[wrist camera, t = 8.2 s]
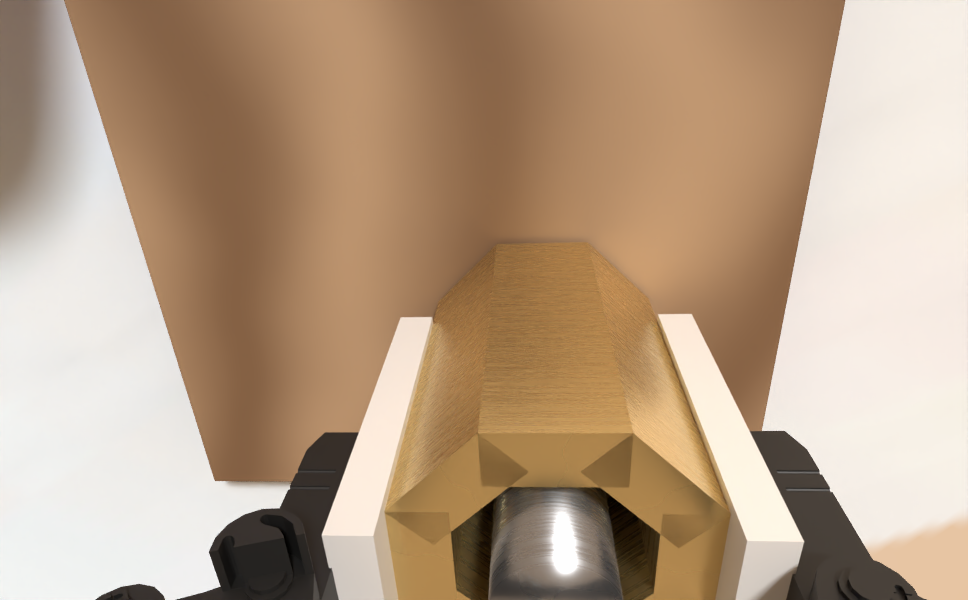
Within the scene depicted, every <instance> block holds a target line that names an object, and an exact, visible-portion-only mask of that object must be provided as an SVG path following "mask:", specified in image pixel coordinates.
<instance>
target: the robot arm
mask: <svg viewBox="0 0 968 600" xmlns="http://www.w3.org/2000/svg"><path fill="white" fill-rule="evenodd" d="M657 322H658V325H659V327H660V330H661V333H662V335H663V338H664V341H665V343H666V346H667V348H668V351H669V354H670V356H671V359H672V362H673V364H674V367H675V369H676V372H677V375H678V377H679V380H680V382H681V385H682V388H683V390H684V393H685V396H686V398H687V401H688V403H689V406H690V409H691V411H692V414H693V416H694V419H695V422H696V424H697V427H698V430H699V432H700V435H701V437H702V440H703V443H704V445H705V448H706V450H707V453H708V456H709V458H710V461H711V464H712V466H713V469H714V471H715V474H716V477H717V479H718V482H719V484H720V487H721V490H722V492H723V495H724V498H725V500H726V503H727V505H728V508H729V511H730V513H731V516H730V522H729V527H728V533H727V538H726V544H725V549H724V555H723V560H722V565H721V571H720V576H719V582H718V587H717V593H716V598H715V600H926V599H923V598H921V597H919V596H918V595H917V593H916V591H915V589H914V588H913V587H912V586H911V585H910V584H909V583H907V581H906V580H905V579H904V578H902V577H901V576H900V575H899V574H898V573H896V572H895V571H893V570H891V569H890V568H888V567H886V566H885V565H883V564H881V563H880V562H877V561H874V560H873V559H872V558H871V556H870V554H869V553H868V551H867V549H866V548H865V546H864V544H863V543H862V541H861V539H860V538H859V536H858V534H857V533H856V531H855V529H854V528H853V526H852V524H851V523H850V521H849V519H848V518H847V516H846V514H845V513H844V511H843V509H842V508H841V506H840V504H839V502H838V501H837V499H836V497H835V496H834V494H833V492H830V487H829V486H828V484H827V482H826V481H825V479H824V477H823V476H822V475H820V473H819V469H818V467H817V466H816V464H815V462H814V461H813V459H812V457H811V456H810V454H809V452H808V451H807V449H806V448H805V447H803V446H802V445H801V444H800V443H798V442H797V441H796V440H795V439H794V438H792V437H791V436H790V435H789V434H788V433H786V432H785V431H749V429H748V427H747V425H746V423H745V421H744V419H743V417H742V415H741V413H740V411H739V409H738V407H737V405H736V403H735V401H734V399H733V397H732V395H731V393H730V391H729V389H728V387H727V385H726V383H725V381H724V378H723V376H722V374H721V372H720V370H719V368H718V366H717V364H716V362H715V360H714V358H713V356H712V354H711V352H710V350H709V348H708V346H707V344H706V342H705V340H704V338H703V336H702V334H701V332H700V330H699V328H698V326H697V324H696V322H695V320H694V318H693V316H692V314H658V319H657ZM432 326H433V318H432V317H401V318H400V321H399V324H398V326H397V329H396V332H395V335H394V337H393V340H392V343H391V346H390V348H389V351H388V354H387V357H386V359H385V362H384V365H383V368H382V370H381V373H380V376H379V379H378V381H377V384H376V387H375V390H374V392H373V395H372V398H371V401H370V403H369V406H368V409H367V412H366V414H365V417H364V420H363V423H362V425H361V428H360V431H359V432H325V433H324V434H323V435H322V436H321V437H320V438H318V439H317V440H316V441H315V442H314V443H313V444H312V445H311V446H310V447H309V448H308V449H307V450H306V453H305V455H304V457H303V459H302V461H301V463H300V466H299V468H298V473H296V474H295V476H294V479H293V481H292V483H291V485H290V490H288V492H287V494H286V496H285V498H284V500H283V502H282V505H281V507H280V509H279V508H278V509H261V510H258V511H255V512H251V513H248V514H245V515H243V516H241V517H240V518H238V519H236V520H235V521H233V522H232V523H230V524H228V525H227V526H226V527H225V528H224V529H223V530H222V531H221V532H220V533H219V534H218V536H217V537H216V538H215V540H214V542H213V544H212V546H211V548H210V551H209V554H210V557H211V559H212V562H213V565H214V568H215V571H216V574H217V577H218V580H219V583H220V586H221V587H218V588H215V589H213V590H210V591H207V592H204V593H200V594H196V595H192V596H188V597H185V598H181V599H177V600H398V594H397V588H396V582H395V575H394V569H393V563H392V556H391V550H390V544H389V538H388V531H387V525H386V519H385V513H384V511H385V507H386V503H387V500H388V496H389V492H390V488H391V484H392V480H393V477H394V473H395V469H396V465H397V461H398V457H399V453H400V450H401V446H402V442H403V438H404V434H405V430H406V426H407V423H408V419H409V415H410V411H411V407H412V403H413V400H414V396H415V392H416V388H417V384H418V380H419V376H420V373H421V369H422V365H423V361H424V357H425V353H426V350H427V346H428V342H429V338H430V334H431V330H432ZM96 600H165V598H164V596H163V594H161V593H160V592H159V591H158V590H157V589H156V588H155V587H152V586H147V585H142V584H136V585H130V586H124V587H120V588H117V589H115V590H113V591H111V592H108V593H106V594H104V595H101V596H100V597H99V598H97V599H96Z"/></svg>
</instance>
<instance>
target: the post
mask: <svg viewBox="0 0 968 600" xmlns="http://www.w3.org/2000/svg"><path fill="white" fill-rule="evenodd" d="M488 600H623V595H622V588H621V582H620V576H619V570H618V563H617V557H616V551H615V544H614V538H613V532H612V526H611V519H610V513H609V507H608V501H607V494H606V492H605V491H604V490H603V489H602V488H600V487H509V488H507V489H506V490H505V491H503V492H502V493H501V494H500V495H498V496H497V497H496V498H494V508H493V526H492V543H491V561H490V578H489V596H488Z"/></svg>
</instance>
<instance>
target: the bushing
mask: <svg viewBox="0 0 968 600" xmlns="http://www.w3.org/2000/svg"><path fill="white" fill-rule="evenodd" d="M509 487H600V488H602V489H603V490H604V491H605V492H606V494H607V501H608V507H609V513H610V519H611V526H612V532H613V538H614V544H615V551H616V557H617V563H618V570H619V576H620V582H621V588H622V595H623V600H715V598H716V593H717V587H718V582H719V576H720V571H721V565H722V560H723V555H724V549H725V544H726V538H727V533H728V527H729V522H730V516H731V513H730V511H729V508H728V505H727V503H726V500H725V498H724V495H723V492H722V490H721V487H720V484H719V482H718V479H717V477H716V474H715V471H714V469H713V466H712V464H711V461H710V458H709V456H708V453H707V450H706V448H705V445H704V443H703V440H702V437H701V435H700V432H699V430H698V427H697V424H696V422H695V419H694V416H693V414H692V411H691V409H690V406H689V403H688V401H687V398H686V396H685V393H684V390H683V388H682V385H681V382H680V380H679V377H678V375H677V372H676V369H675V367H674V364H673V362H672V359H671V356H670V354H669V351H668V348H667V346H666V343H665V341H664V338H663V335H662V333H661V330H660V327H659V325H658V322H657V319H656V317H655V314H654V311H653V309H652V306H651V304H650V301H649V298H647V297H646V296H645V295H644V294H643V293H642V292H641V291H640V290H639V289H638V288H637V287H636V286H635V285H633V284H632V283H631V282H630V281H629V280H628V279H627V278H626V277H625V276H624V275H623V274H622V273H620V272H619V271H618V270H617V269H616V268H615V267H614V266H613V265H612V264H611V263H610V262H609V261H608V260H606V259H605V258H604V257H603V256H602V255H601V254H600V253H599V252H598V251H597V250H596V249H595V248H593V247H592V246H591V245H590V244H589V243H588V242H570V243H525V244H496V245H495V246H494V247H493V248H492V249H491V250H490V251H489V252H488V253H487V254H486V255H485V256H484V257H483V258H482V259H481V260H480V261H479V262H478V263H477V264H476V265H475V266H474V267H473V268H472V269H471V270H470V271H469V272H468V273H467V274H466V275H465V276H464V277H463V278H462V279H461V280H460V281H459V282H458V283H457V284H456V285H455V286H454V287H453V288H452V289H451V290H450V291H449V292H448V293H447V294H446V295H445V296H444V297H443V298H442V299H441V300H440V301H439V302H438V306H437V309H436V313H435V317H434V321H433V326H432V330H431V334H430V338H429V342H428V346H427V350H426V353H425V357H424V361H423V365H422V369H421V373H420V376H419V380H418V384H417V388H416V392H415V396H414V400H413V403H412V407H411V411H410V415H409V419H408V423H407V426H406V430H405V434H404V438H403V442H402V446H401V450H400V453H399V457H398V461H397V465H396V469H395V473H394V477H393V480H392V484H391V488H390V492H389V496H388V500H387V503H386V507H385V511H384V513H385V519H386V525H387V531H388V538H389V544H390V550H391V556H392V563H393V569H394V575H395V582H396V588H397V594H398V600H488V596H489V578H490V561H491V543H492V526H493V508H494V498H496V497H497V496H498V495H500V494H501V493H502V492H503V491H505V490H506V489H507V488H509Z"/></svg>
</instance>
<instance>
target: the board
mask: <svg viewBox="0 0 968 600" xmlns="http://www.w3.org/2000/svg"><path fill="white" fill-rule="evenodd" d="M64 1H65V4H66V8H67V11H68V14H69V17H70V20H71V24H72V27H73V30H74V33H75V36H76V40H77V43H78V46H79V49H80V52H81V56H82V59H83V62H84V65H85V68H86V71H87V75H88V78H89V81H90V84H91V87H92V91H93V94H94V97H95V100H96V103H97V107H98V110H99V113H100V116H101V119H102V122H103V126H104V129H105V132H106V135H107V138H108V142H109V145H110V148H111V151H112V154H113V158H114V161H115V164H116V167H117V170H118V173H119V177H120V180H121V183H122V186H123V189H124V193H125V196H126V199H127V202H128V205H129V209H130V212H131V215H132V218H133V221H134V225H135V228H136V231H137V234H138V237H139V240H140V244H141V247H142V250H143V253H144V256H145V260H146V263H147V266H148V269H149V272H150V276H151V279H152V282H153V285H154V288H155V291H156V295H157V298H158V301H159V304H160V307H161V311H162V314H163V317H164V320H165V323H166V327H167V330H168V333H169V336H170V339H171V342H172V346H173V349H174V352H175V355H176V358H177V362H178V365H179V368H180V371H181V374H182V378H183V381H184V384H185V387H186V390H187V394H188V397H189V400H190V403H191V406H192V409H193V413H194V416H195V419H196V422H197V425H198V429H199V432H200V435H201V438H202V441H203V445H204V448H205V451H206V454H207V457H208V460H209V464H210V467H211V470H212V473H213V476H214V480H215V481H293V479H294V476H295V474H296V473H298V468H299V466H300V463H301V461H302V459H303V457H304V455H305V453H306V450H307V449H308V448H309V447H310V446H311V445H312V444H313V443H314V442H315V441H316V440H317V439H318V438H320V437H321V436H322V435H323V434H324V433H325V432H359V431H360V428H361V425H362V423H363V420H364V417H365V414H366V412H367V409H368V406H369V403H370V401H371V398H372V395H373V392H374V390H375V387H376V384H377V381H378V379H379V376H380V373H381V370H382V368H383V365H384V362H385V359H386V357H387V354H388V351H389V348H390V346H391V343H392V340H393V337H394V335H395V332H396V329H397V326H398V324H399V321H400V318H401V317H432V318H433V321H434V317H435V313H436V309H437V306H438V302H439V301H440V300H441V299H442V298H443V297H444V296H445V295H446V294H447V293H448V292H449V291H450V290H451V289H452V288H453V287H454V286H455V285H456V284H457V283H458V282H459V281H460V280H461V279H462V278H463V277H464V276H465V275H466V274H467V273H468V272H469V271H470V270H471V269H472V268H473V267H474V266H475V265H476V264H477V263H478V262H479V261H480V260H481V259H482V258H483V257H484V256H485V255H486V254H487V253H488V252H489V251H490V250H491V249H492V248H493V247H494V246H495V245H496V244H525V243H570V242H588V243H589V244H590V245H591V246H592V247H593V248H595V249H596V250H597V251H598V252H599V253H600V254H601V255H602V256H603V257H604V258H605V259H606V260H608V261H609V262H610V263H611V264H612V265H613V266H614V267H615V268H616V269H617V270H618V271H619V272H620V273H622V274H623V275H624V276H625V277H626V278H627V279H628V280H629V281H630V282H631V283H632V284H633V285H635V286H636V287H637V288H638V289H639V290H640V291H641V292H642V293H643V294H644V295H645V296H646V297H647V298H649V301H650V304H651V306H652V309H653V311H654V314H655V317H656V319H658V314H692V316H693V318H694V320H695V322H696V324H697V326H698V328H699V330H700V332H701V334H702V336H703V338H704V340H705V342H706V344H707V346H708V348H709V350H710V352H711V354H712V356H713V358H714V360H715V362H716V364H717V366H718V368H719V370H720V372H721V374H722V376H723V378H724V381H725V383H726V385H727V387H728V389H729V391H730V393H731V395H732V397H733V399H734V401H735V403H736V405H737V407H738V409H739V411H740V413H741V415H742V417H743V419H744V421H745V423H746V425H747V427H748V429H749V431H762V426H763V421H764V416H765V411H766V406H767V400H768V395H769V390H770V385H771V380H772V375H773V370H774V364H775V359H776V354H777V349H778V344H779V339H780V334H781V329H782V323H783V318H784V313H785V308H786V303H787V298H788V293H789V287H790V282H791V277H792V272H793V267H794V262H795V257H796V251H797V246H798V241H799V236H800V231H801V226H802V221H803V215H804V210H805V205H806V200H807V195H808V190H809V185H810V179H811V174H812V169H813V164H814V159H815V154H816V149H817V143H818V138H819V133H820V128H821V123H822V118H823V113H824V107H825V102H826V97H827V92H828V87H829V82H830V77H831V71H832V66H833V61H834V56H835V51H836V46H837V41H838V35H839V30H840V25H841V20H842V15H843V10H844V5H845V0H64Z"/></svg>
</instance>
